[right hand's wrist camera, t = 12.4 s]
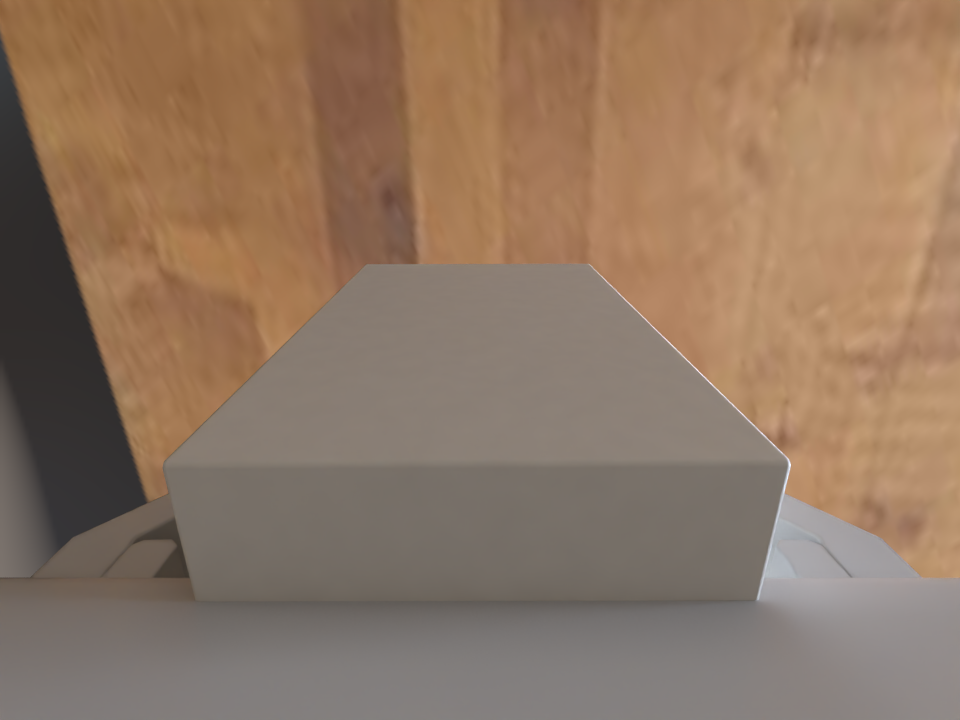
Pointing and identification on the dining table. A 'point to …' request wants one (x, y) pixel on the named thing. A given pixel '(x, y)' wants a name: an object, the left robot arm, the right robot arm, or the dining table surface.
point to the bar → (476, 453)
